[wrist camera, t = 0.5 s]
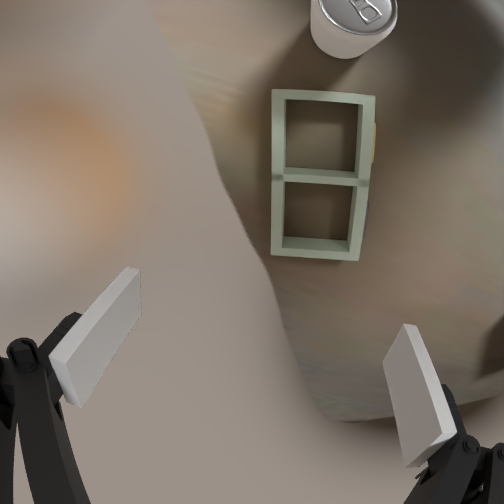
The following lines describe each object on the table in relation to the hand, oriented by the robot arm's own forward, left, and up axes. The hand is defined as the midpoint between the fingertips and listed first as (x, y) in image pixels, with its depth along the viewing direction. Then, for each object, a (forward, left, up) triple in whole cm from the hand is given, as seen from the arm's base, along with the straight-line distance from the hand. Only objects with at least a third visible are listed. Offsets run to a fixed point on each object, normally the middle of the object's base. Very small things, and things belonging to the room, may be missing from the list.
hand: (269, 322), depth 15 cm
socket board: (-3, -2, -23) cm, 23 cm away
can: (-5, -18, -23) cm, 29 cm away
